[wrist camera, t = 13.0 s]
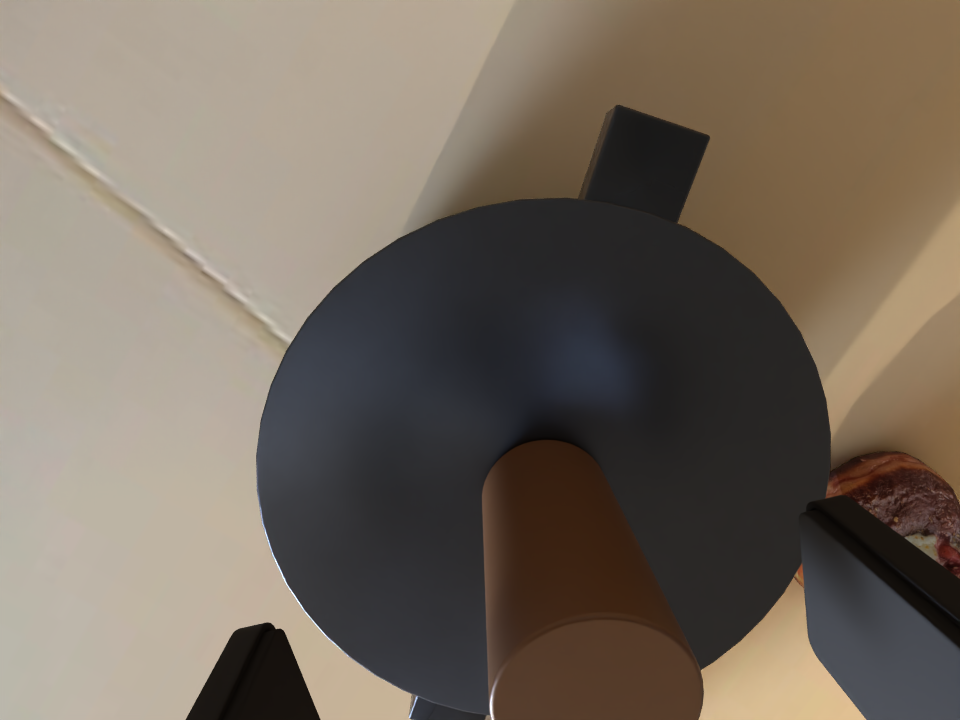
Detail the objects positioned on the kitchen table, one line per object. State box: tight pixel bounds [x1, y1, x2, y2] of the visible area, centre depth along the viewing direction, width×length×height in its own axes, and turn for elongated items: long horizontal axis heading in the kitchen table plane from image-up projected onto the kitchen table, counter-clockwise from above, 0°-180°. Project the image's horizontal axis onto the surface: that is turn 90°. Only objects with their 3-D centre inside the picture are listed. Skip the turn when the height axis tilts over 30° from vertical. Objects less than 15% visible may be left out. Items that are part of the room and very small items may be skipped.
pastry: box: [794, 452, 960, 588], centre depth 22 cm, size 8×8×5 cm
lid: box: [256, 198, 831, 720], centre depth 11 cm, size 15×15×7 cm
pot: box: [409, 105, 710, 720], centre depth 18 cm, size 14×19×8 cm
